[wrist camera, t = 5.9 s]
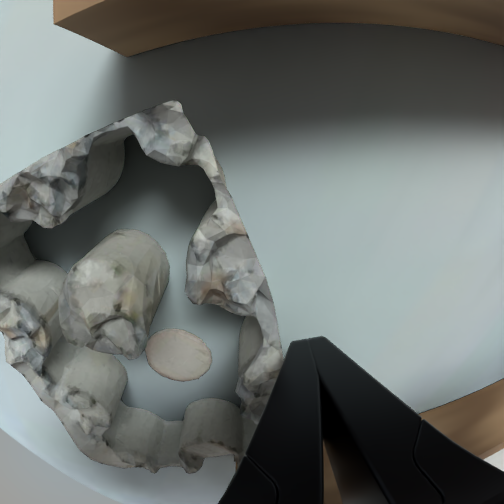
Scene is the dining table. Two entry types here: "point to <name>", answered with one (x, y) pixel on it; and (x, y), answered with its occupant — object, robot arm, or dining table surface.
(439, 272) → the dining table surface
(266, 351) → the egg carton
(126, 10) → the open wooden frame
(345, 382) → the robot arm
